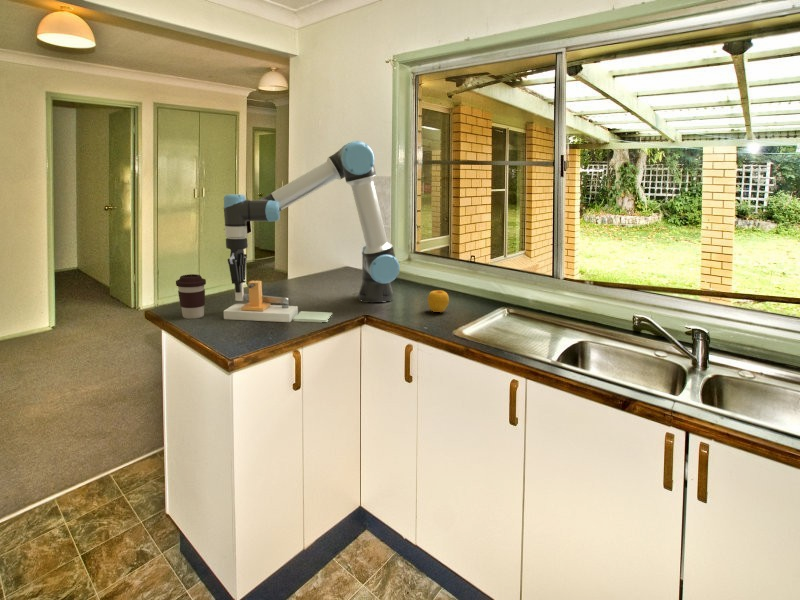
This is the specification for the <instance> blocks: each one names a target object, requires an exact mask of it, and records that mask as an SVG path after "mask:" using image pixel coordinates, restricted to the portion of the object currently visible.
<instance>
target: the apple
mask: <svg viewBox="0 0 800 600" xmlns="http://www.w3.org/2000/svg"><path fill="white" fill-rule="evenodd" d="M449 303H450V296H449V294H448V293H447V292H446V291H444V290H441V289H440V290H439V289H438V290H432V291H430V292H429V293H428V296H427V306H428V307H429V310H430V311H431V312H432V311H433V312H440V313H443V312H444V311H445V310H446V309H447V307H448V306H449ZM433 312H432V313H433Z"/></svg>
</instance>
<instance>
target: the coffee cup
mask: <svg viewBox="0 0 800 600" xmlns="http://www.w3.org/2000/svg"><path fill="white" fill-rule="evenodd" d="M206 284H207V280H206V279H205V278H203V277H202V276H201V274H192V273H191V274H183V275H181V276H179V279H176V280H175V286H176V287H177V288H178V291H177V293H178V300H179V305H180V307H181V314H182V317H183V318H184V319H188V320H193V319H194V320H195V319H199V318H203V317H204V316H205V304H206V289H205V285H206Z"/></svg>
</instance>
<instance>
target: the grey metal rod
mask: <svg viewBox="0 0 800 600" xmlns="http://www.w3.org/2000/svg"><path fill="white" fill-rule="evenodd" d="M243 301H249V293H244V300H243ZM262 302H264V303H270V304H271V303H272V304H281V305H282V304H289V303H290V299H289V297H287V296H285V297H282V296H272V295H271V296H270V295H263V294H262Z"/></svg>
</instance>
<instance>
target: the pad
mask: <svg viewBox="0 0 800 600" xmlns="http://www.w3.org/2000/svg"><path fill="white" fill-rule="evenodd" d="M331 315H332V316H333V312H329V311H328V312H326V311H304V310H303V311H302V310H301V311H299V312H298V314H297V315H296V316H295V317H294V318H293V319H292V320H293V322H302V323H305V322H307V323H322V322H327V323H328V321H329V320H330V319H331V318H330V316H331ZM332 316H331V317H332ZM329 318H330V319H329ZM328 319H329V320H328Z"/></svg>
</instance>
